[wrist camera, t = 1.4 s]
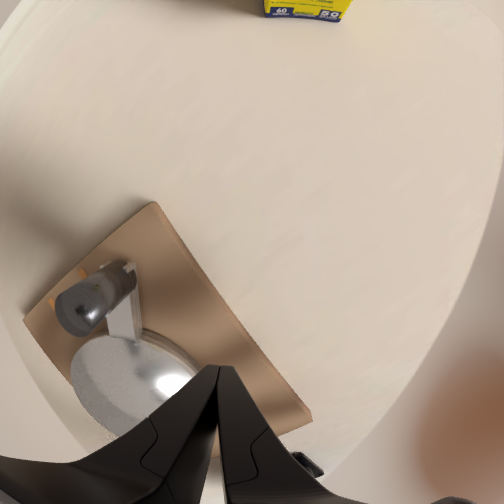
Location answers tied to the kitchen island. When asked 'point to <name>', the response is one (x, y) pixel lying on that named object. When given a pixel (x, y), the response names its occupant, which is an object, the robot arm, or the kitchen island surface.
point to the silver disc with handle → (119, 350)
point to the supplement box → (307, 9)
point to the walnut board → (173, 315)
